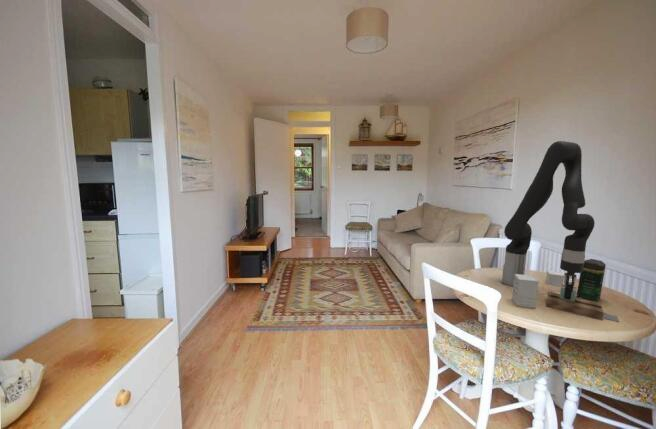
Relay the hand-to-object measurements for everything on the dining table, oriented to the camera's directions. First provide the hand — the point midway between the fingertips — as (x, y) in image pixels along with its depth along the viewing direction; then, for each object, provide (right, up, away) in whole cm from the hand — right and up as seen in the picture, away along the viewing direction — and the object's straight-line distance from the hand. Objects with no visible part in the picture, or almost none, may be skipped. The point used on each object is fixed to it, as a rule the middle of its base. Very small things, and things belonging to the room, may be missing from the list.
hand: (567, 297), depth 123 cm
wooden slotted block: (+2, -4, -1) cm, 5 cm away
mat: (+11, -6, -8) cm, 15 cm away
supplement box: (-17, -4, +3) cm, 18 cm away
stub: (0, -4, +1) cm, 4 cm away
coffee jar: (+18, -3, +10) cm, 21 cm away
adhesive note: (+16, -1, +27) cm, 32 cm away
